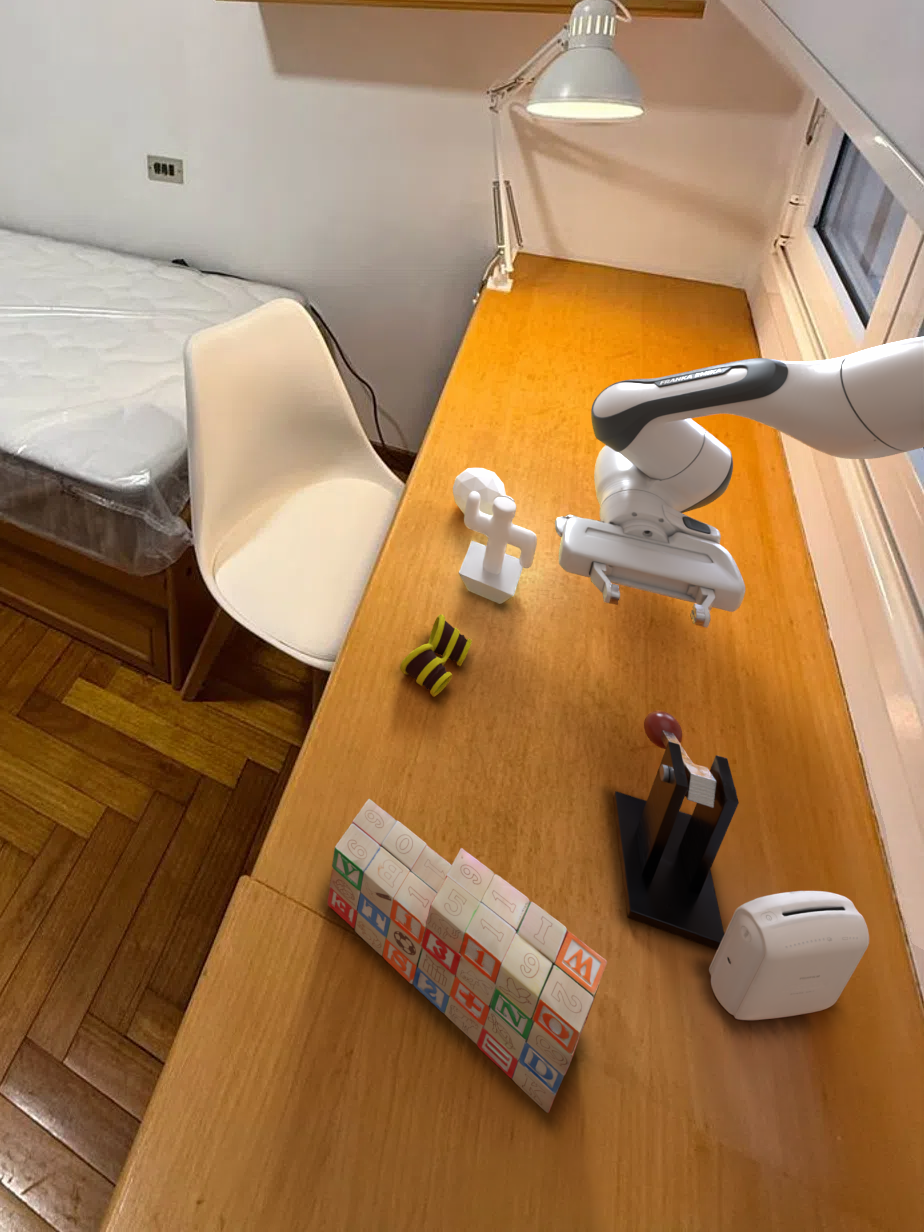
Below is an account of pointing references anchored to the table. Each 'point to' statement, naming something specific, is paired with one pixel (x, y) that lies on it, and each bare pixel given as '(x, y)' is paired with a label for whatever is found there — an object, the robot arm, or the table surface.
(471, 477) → the geometric ball
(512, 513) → the figurine
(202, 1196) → the table surface
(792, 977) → the photo printer
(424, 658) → the opera glasses
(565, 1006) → the stack of blocks
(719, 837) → the bracket
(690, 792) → the lever
